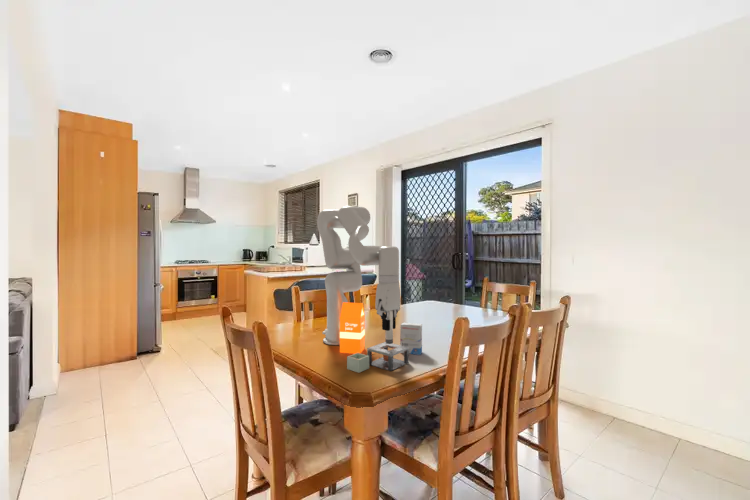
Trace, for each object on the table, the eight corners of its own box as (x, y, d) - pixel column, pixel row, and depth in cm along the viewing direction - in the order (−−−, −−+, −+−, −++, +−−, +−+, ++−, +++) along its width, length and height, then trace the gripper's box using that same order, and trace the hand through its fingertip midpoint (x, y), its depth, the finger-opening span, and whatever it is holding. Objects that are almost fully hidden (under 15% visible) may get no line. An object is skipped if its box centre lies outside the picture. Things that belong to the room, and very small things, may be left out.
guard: (367, 364, 131) (367, 348, 131) (385, 356, 140) (385, 341, 140) (390, 371, 124) (391, 354, 124) (408, 363, 133) (408, 347, 133)
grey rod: (383, 342, 131) (383, 299, 131) (388, 341, 133) (388, 298, 133) (389, 344, 129) (389, 300, 129) (394, 342, 132) (394, 299, 131)
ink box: (422, 351, 147) (422, 323, 147) (420, 355, 142) (421, 325, 142) (402, 349, 149) (402, 321, 149) (399, 353, 144) (400, 324, 144)
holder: (347, 368, 126) (347, 356, 126) (357, 364, 131) (357, 352, 131) (358, 372, 123) (358, 359, 123) (369, 368, 127) (369, 355, 127)
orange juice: (360, 354, 143) (360, 304, 142) (339, 352, 145) (339, 303, 144) (364, 348, 151) (365, 301, 150) (344, 347, 152) (345, 300, 152)
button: (381, 359, 132) (381, 351, 132) (387, 357, 134) (387, 349, 134) (388, 361, 129) (389, 353, 129) (394, 359, 132) (394, 351, 132)
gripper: (393, 277, 140) (393, 324, 140) (366, 280, 127) (366, 331, 127) (409, 278, 135) (409, 326, 135) (383, 282, 122) (383, 335, 123)
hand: (388, 328), depth 131 cm, fingers closed on grey rod, 2 cm apart
